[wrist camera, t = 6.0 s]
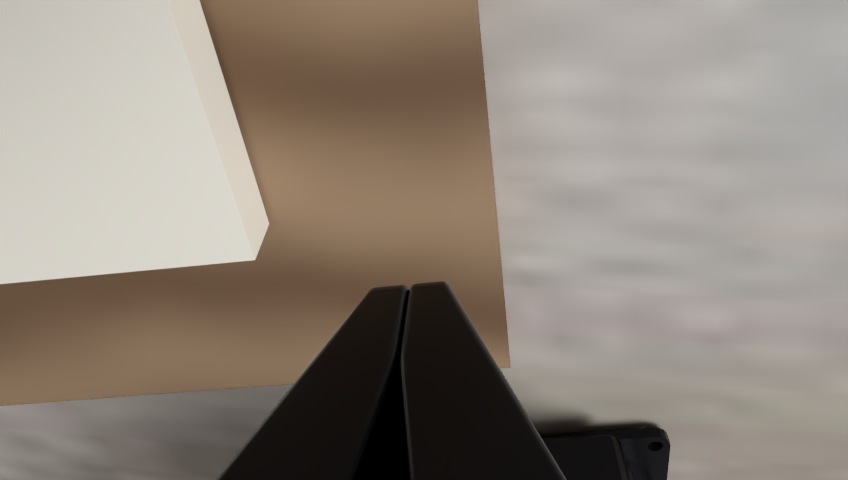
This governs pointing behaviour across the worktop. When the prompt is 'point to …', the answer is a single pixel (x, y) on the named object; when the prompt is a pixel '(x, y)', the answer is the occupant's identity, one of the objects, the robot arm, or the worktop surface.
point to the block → (118, 142)
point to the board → (296, 210)
